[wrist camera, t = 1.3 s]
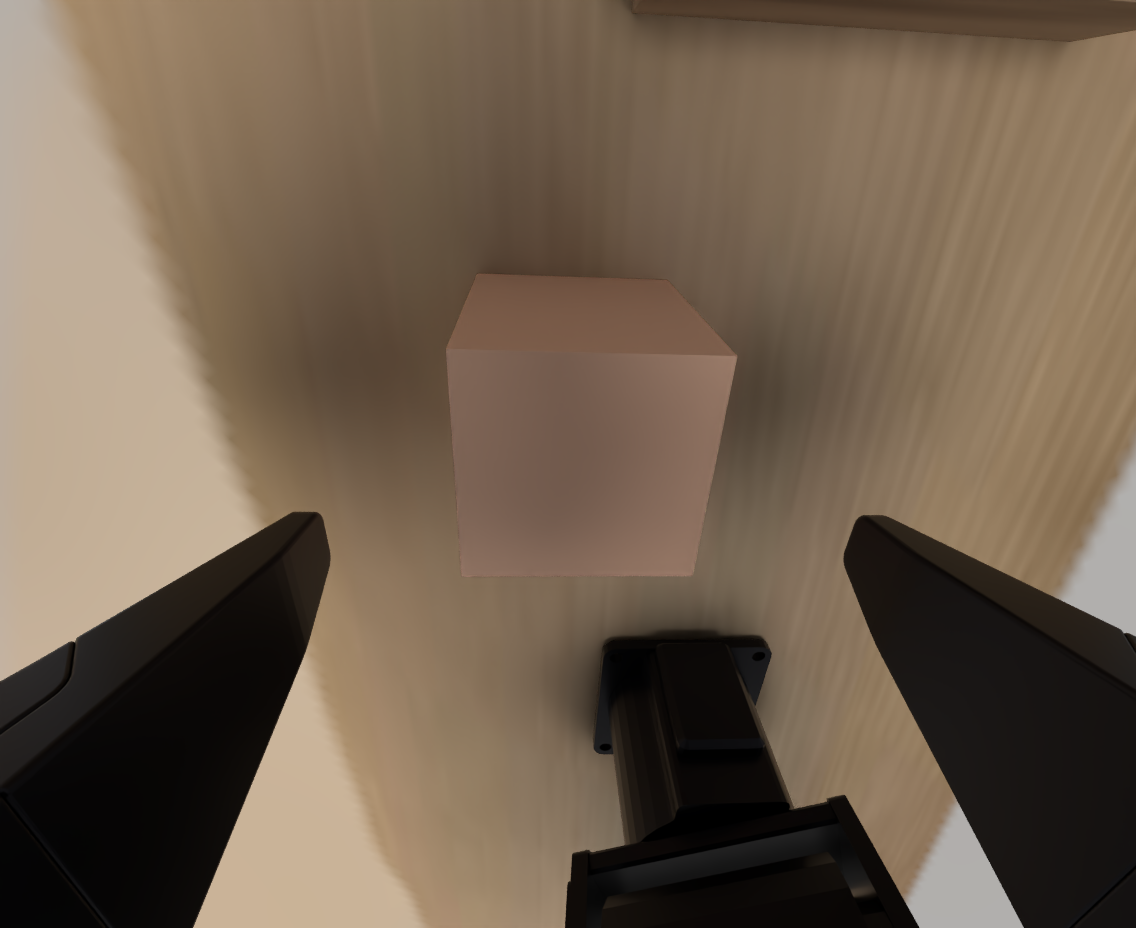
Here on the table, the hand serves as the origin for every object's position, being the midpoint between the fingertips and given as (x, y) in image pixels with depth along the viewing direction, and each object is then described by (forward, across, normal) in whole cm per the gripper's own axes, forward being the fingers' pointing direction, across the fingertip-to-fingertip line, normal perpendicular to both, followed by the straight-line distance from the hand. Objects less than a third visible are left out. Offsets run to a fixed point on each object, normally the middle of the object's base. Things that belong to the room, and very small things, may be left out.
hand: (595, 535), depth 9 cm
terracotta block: (+8, 0, 0) cm, 8 cm away
